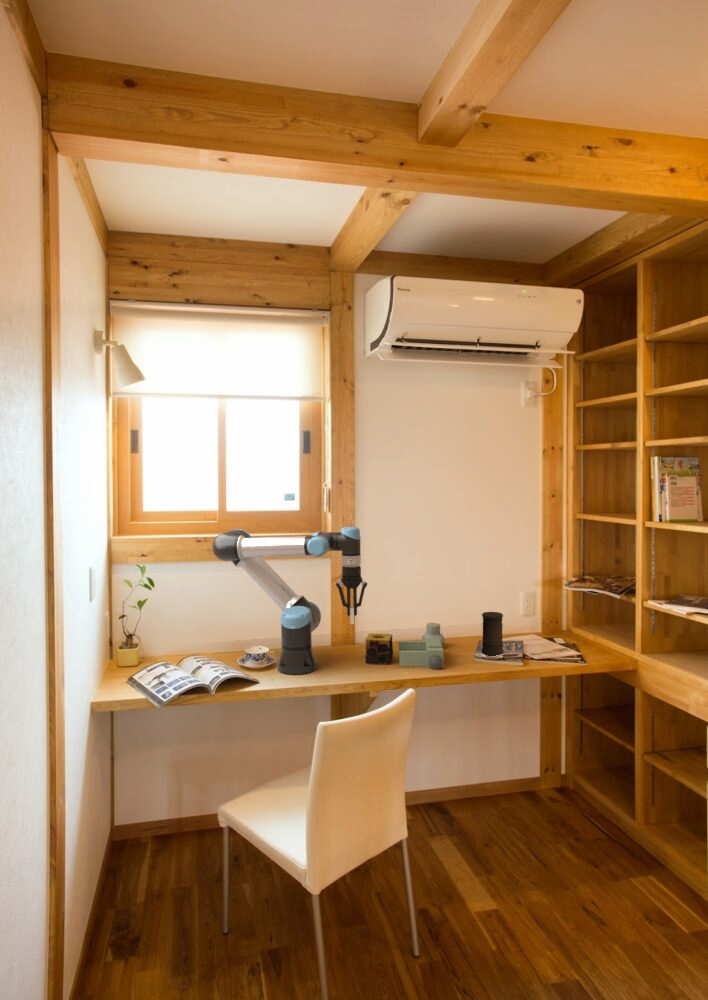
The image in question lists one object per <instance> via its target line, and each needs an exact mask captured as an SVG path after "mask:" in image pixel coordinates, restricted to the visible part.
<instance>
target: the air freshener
mask: <svg viewBox="0 0 708 1000" xmlns="http://www.w3.org/2000/svg"><path fill="white" fill-rule="evenodd" d="M425 629H426V632H425V633H424V634H423V635H422V637H421V641H425V638H440V640H441V644H442V647H443V646H445V644H446V643H445V636H444V635H443V634H442V633H441V624H440V623H437V622H429V623H426V628H425Z"/></svg>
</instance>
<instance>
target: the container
mask: <svg viewBox="0 0 708 1000" xmlns="http://www.w3.org/2000/svg"><path fill="white" fill-rule="evenodd" d="M481 617H482V644H481V645H482V649H481V654H482V653H483V654H485V655H488V656H496V655H500V654H504V653H505V652H504V650H503V649H504V647H503V646H504V644H503V617H504V615H503V613H502V612H498V611H486V612H485V611H484V612H483V613H482V614H481Z"/></svg>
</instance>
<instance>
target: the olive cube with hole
mask: <svg viewBox="0 0 708 1000" xmlns="http://www.w3.org/2000/svg"><path fill="white" fill-rule="evenodd" d="M364 655H365V656H364V660H365V662H364V663H365V664H367V665H387V666H389V665H391V663H392V661H393V657H394V649H393V634H392V633H372V632H371V633H368V635H367V636H366V638H365V654H364Z"/></svg>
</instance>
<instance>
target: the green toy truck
mask: <svg viewBox="0 0 708 1000" xmlns="http://www.w3.org/2000/svg"><path fill="white" fill-rule="evenodd" d="M398 657H399V668H408V667H407V666H410V667H409V668H413V667H412V666H415V667H414V668H425V667H424V666H428V667H431V668H430V669H432V670H434V669H438V670H440V669H442V668H441V667H443V668H444V648H443V646H442V644H441V640H440V638H425V641H422V640H398ZM402 666H403V667H402ZM420 666H421V667H420ZM428 667H427V668H428Z"/></svg>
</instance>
